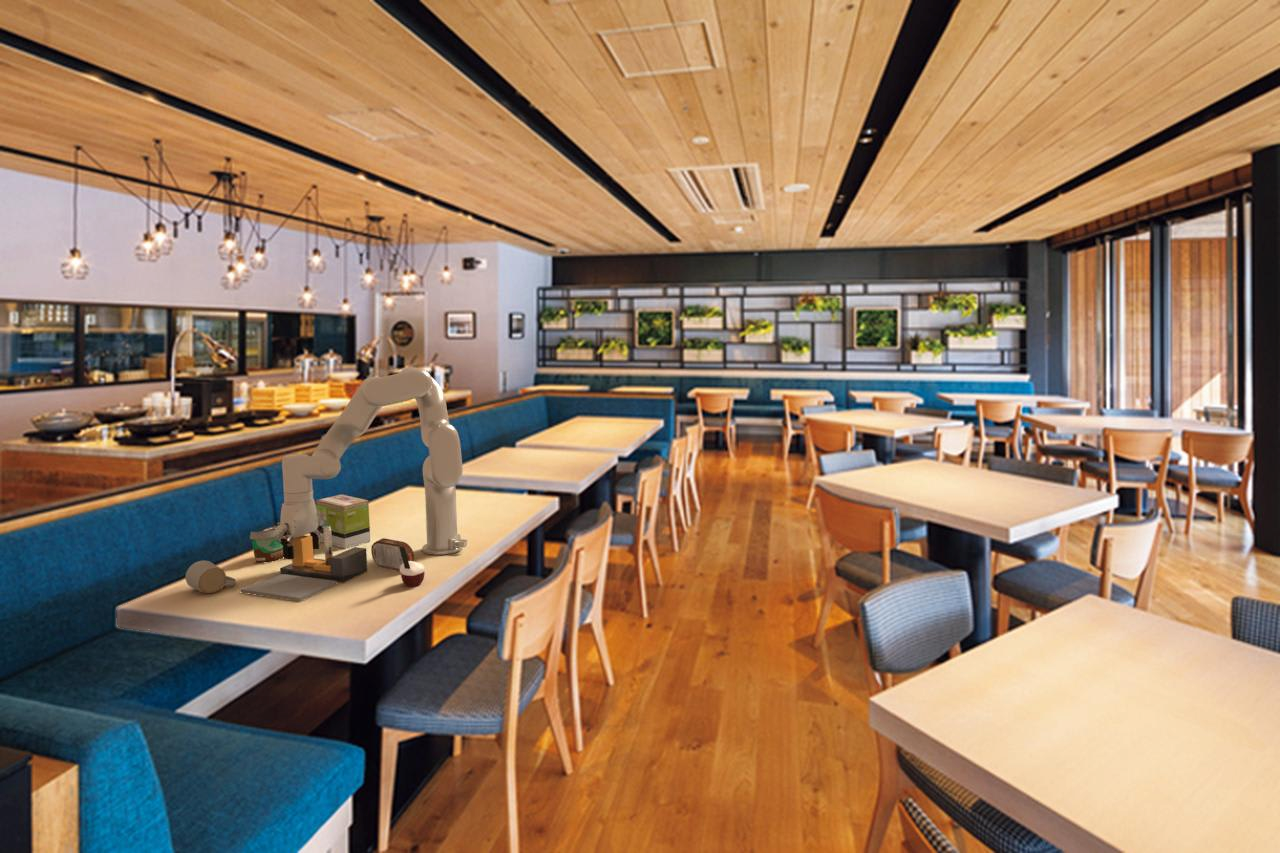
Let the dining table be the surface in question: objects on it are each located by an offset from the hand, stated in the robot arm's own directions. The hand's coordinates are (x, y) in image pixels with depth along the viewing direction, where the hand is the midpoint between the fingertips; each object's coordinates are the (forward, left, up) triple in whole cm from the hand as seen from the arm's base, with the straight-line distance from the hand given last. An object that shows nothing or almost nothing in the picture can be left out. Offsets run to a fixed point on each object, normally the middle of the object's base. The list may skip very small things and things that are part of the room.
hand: (301, 553), depth 200 cm
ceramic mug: (+12, +19, -6) cm, 23 cm away
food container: (+16, -6, -5) cm, 18 cm away
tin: (-24, -10, -5) cm, 26 cm away
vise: (-8, 0, -5) cm, 9 cm away
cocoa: (-38, 0, -5) cm, 38 cm away
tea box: (+8, -27, -5) cm, 29 cm away
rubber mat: (-8, +13, -5) cm, 16 cm away
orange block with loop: (-5, 0, -3) cm, 6 cm away
